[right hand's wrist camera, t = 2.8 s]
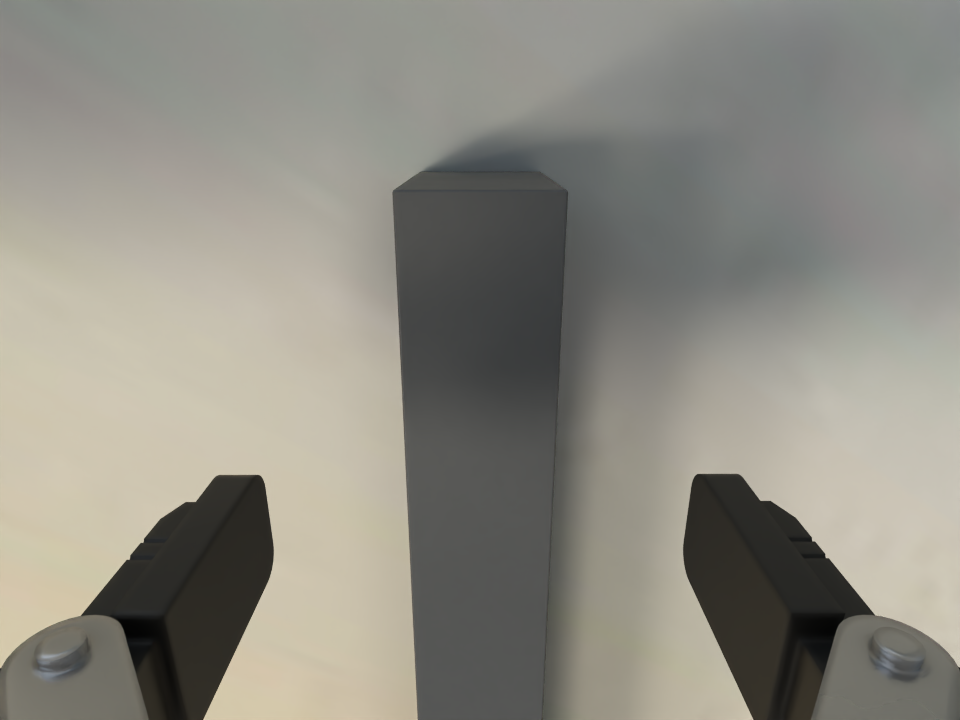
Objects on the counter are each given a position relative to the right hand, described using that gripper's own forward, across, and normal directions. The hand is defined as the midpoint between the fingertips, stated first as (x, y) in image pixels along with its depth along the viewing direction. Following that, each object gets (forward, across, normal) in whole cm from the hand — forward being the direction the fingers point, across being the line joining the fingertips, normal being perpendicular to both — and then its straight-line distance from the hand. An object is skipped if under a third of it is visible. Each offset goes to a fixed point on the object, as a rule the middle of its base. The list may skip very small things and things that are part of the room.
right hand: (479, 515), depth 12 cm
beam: (+12, 0, -33) cm, 35 cm away
